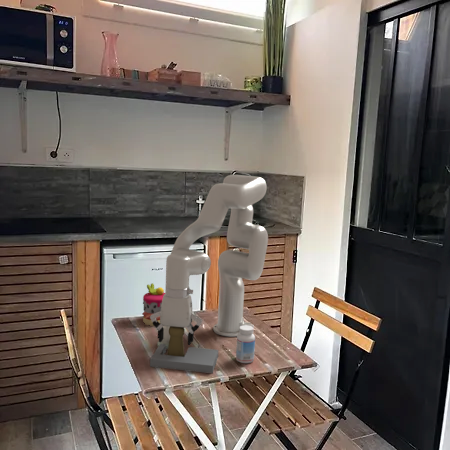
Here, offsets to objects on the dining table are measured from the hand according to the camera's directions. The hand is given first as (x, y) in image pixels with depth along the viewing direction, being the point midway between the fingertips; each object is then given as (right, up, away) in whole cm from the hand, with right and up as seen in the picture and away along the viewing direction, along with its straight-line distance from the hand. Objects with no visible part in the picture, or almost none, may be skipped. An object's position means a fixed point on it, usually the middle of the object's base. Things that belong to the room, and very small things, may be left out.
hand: (175, 342), depth 151 cm
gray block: (+3, -6, -2) cm, 7 cm away
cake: (-11, 0, +32) cm, 34 cm away
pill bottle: (+23, -7, +2) cm, 24 cm away
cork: (0, -6, +1) cm, 6 cm away
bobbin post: (-4, -4, +10) cm, 12 cm away
